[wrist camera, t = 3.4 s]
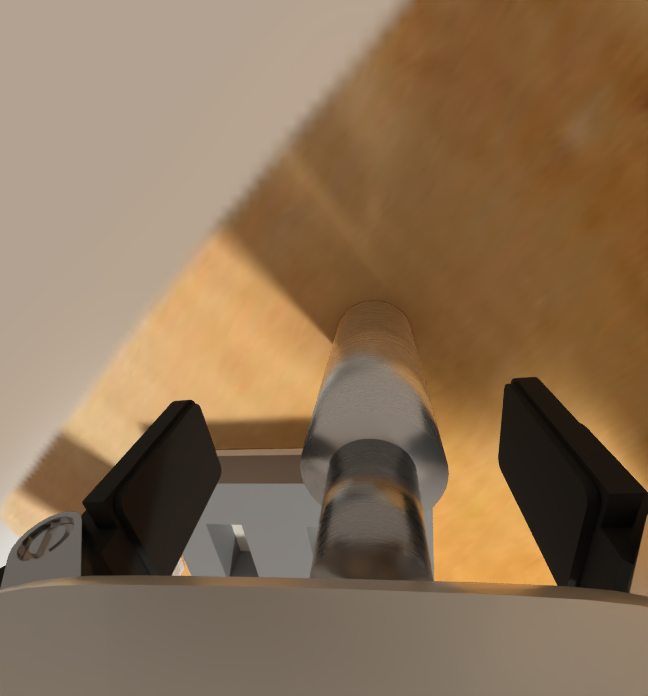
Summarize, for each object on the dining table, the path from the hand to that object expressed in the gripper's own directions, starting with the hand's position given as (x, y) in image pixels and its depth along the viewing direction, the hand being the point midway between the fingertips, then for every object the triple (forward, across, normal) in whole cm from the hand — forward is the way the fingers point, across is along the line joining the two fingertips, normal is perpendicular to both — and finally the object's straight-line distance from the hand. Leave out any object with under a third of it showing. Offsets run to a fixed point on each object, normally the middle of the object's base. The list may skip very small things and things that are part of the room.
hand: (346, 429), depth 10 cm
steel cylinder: (+9, -1, +1) cm, 9 cm away
